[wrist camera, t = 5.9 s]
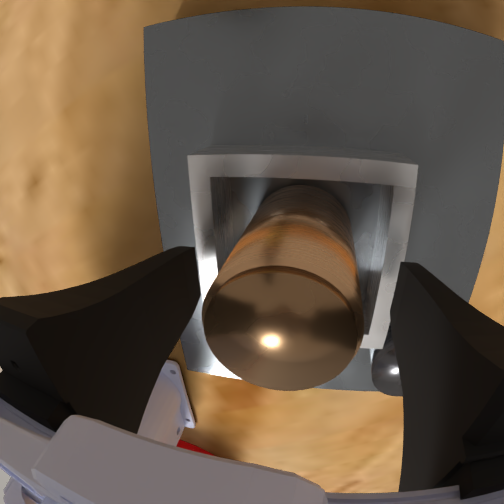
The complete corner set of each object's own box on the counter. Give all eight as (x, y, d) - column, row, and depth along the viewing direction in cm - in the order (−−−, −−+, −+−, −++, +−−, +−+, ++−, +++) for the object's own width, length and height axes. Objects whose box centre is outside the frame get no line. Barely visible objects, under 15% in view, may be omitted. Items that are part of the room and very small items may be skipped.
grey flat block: (423, 364, 19) (435, 421, 15) (199, 345, 22) (173, 397, 18) (480, 47, 10) (532, 34, 6) (168, 34, 13) (112, 18, 9)
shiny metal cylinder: (346, 280, 15) (349, 400, 8) (254, 273, 16) (207, 383, 9) (355, 187, 13) (380, 272, 7) (251, 183, 14) (185, 259, 7)
